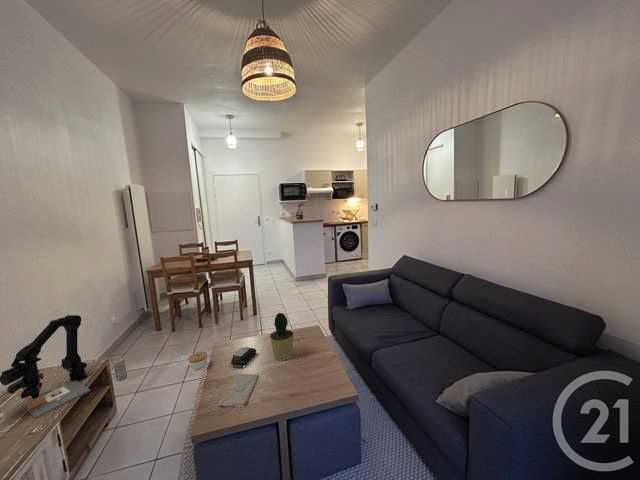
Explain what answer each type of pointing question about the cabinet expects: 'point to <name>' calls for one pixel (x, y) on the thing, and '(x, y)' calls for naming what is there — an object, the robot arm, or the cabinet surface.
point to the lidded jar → (198, 360)
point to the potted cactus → (281, 338)
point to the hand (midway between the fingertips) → (35, 399)
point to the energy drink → (120, 369)
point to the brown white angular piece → (46, 398)
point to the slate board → (75, 392)
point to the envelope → (240, 389)
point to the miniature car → (242, 356)
